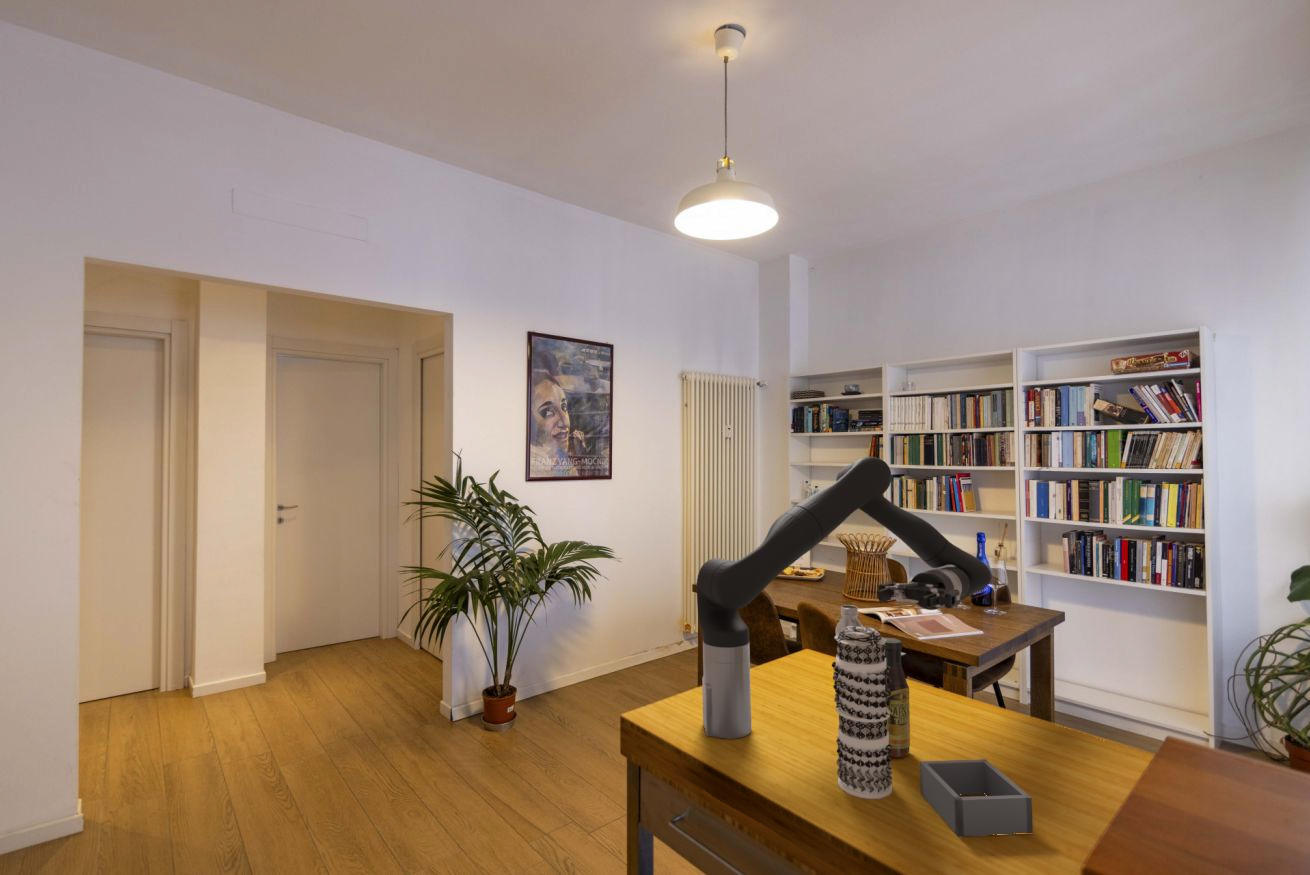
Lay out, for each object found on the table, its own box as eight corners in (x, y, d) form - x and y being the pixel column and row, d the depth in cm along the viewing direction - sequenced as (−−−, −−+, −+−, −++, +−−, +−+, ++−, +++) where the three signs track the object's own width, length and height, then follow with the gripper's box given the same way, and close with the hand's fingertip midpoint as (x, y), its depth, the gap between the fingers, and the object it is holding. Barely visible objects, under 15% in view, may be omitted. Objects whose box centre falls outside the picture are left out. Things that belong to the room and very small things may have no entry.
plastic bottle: (867, 693, 143) (864, 604, 144) (867, 704, 136) (864, 611, 137) (837, 690, 145) (835, 602, 146) (836, 701, 139) (833, 609, 139)
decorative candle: (888, 806, 96) (883, 640, 97) (828, 790, 101) (823, 632, 102) (900, 780, 104) (895, 626, 105) (844, 767, 109) (839, 620, 110)
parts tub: (958, 837, 88) (957, 800, 88) (920, 793, 100) (919, 761, 100) (1033, 834, 88) (1031, 797, 88) (986, 791, 100) (985, 759, 100)
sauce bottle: (893, 762, 110) (888, 646, 111) (866, 749, 115) (862, 638, 116) (919, 754, 113) (915, 641, 114) (891, 741, 118) (887, 634, 119)
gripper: (901, 566, 135) (866, 574, 124) (972, 573, 125) (940, 584, 114) (902, 601, 135) (866, 613, 124) (973, 612, 125) (941, 626, 113)
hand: (902, 599), depth 119 cm, fingers open, 8 cm apart
